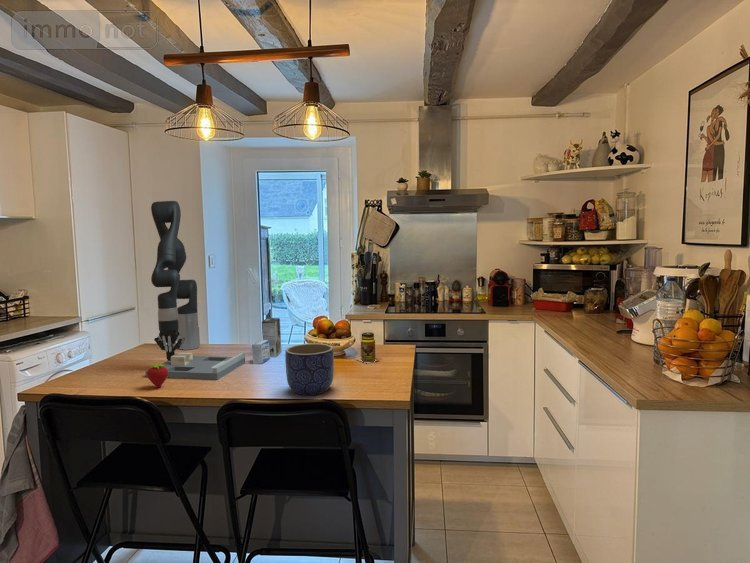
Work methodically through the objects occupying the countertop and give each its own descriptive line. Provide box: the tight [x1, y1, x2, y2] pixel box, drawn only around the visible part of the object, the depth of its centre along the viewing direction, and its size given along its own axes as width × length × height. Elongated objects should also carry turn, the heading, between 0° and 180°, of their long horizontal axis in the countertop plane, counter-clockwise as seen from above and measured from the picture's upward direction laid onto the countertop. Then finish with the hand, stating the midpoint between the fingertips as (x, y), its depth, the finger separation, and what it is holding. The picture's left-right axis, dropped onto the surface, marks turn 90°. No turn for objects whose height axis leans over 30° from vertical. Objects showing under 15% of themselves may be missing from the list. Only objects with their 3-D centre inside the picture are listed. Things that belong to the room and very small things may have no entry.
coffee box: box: [261, 317, 282, 358], centre depth 219 cm, size 9×6×16 cm
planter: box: [284, 342, 335, 395], centre depth 168 cm, size 16×17×15 cm
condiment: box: [360, 332, 376, 363], centre depth 206 cm, size 7×8×12 cm
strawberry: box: [147, 360, 168, 388], centre depth 175 cm, size 6×8×10 cm
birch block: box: [171, 352, 194, 366], centre depth 198 cm, size 6×6×4 cm
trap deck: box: [144, 352, 246, 381], centre depth 197 cm, size 24×30×4 cm
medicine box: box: [251, 339, 271, 365], centre depth 208 cm, size 8×4×9 cm, turn 168°
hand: (170, 360), depth 199 cm, fingers closed
